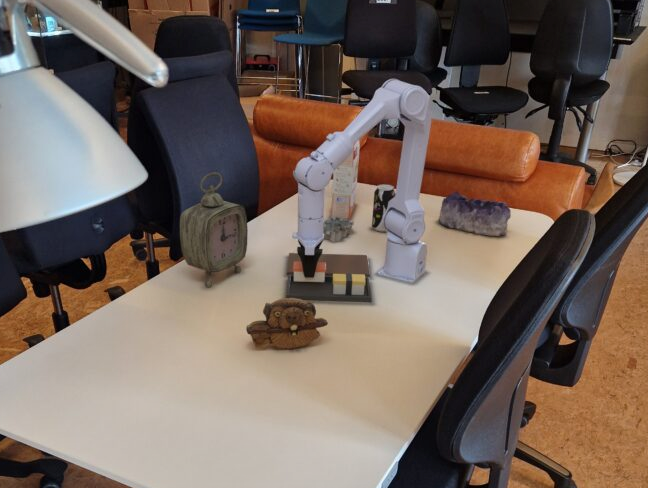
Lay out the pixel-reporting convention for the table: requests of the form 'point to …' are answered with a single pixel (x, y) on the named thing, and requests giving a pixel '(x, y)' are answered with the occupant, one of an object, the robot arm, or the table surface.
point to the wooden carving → (286, 324)
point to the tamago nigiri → (348, 284)
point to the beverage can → (381, 205)
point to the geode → (474, 215)
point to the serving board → (337, 264)
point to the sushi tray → (323, 291)
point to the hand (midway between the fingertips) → (309, 272)
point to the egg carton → (336, 228)
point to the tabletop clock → (213, 233)
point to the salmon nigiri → (318, 275)
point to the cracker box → (345, 185)
